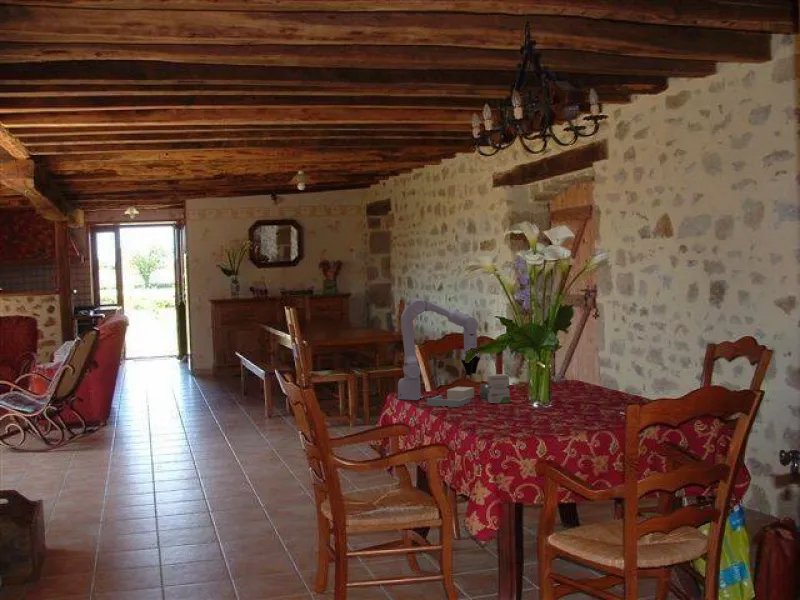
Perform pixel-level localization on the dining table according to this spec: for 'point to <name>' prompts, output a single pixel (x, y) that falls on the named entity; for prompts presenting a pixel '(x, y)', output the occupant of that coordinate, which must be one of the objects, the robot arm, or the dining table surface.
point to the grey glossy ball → (484, 391)
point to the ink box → (498, 388)
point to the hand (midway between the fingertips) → (471, 374)
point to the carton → (460, 393)
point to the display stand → (446, 402)
